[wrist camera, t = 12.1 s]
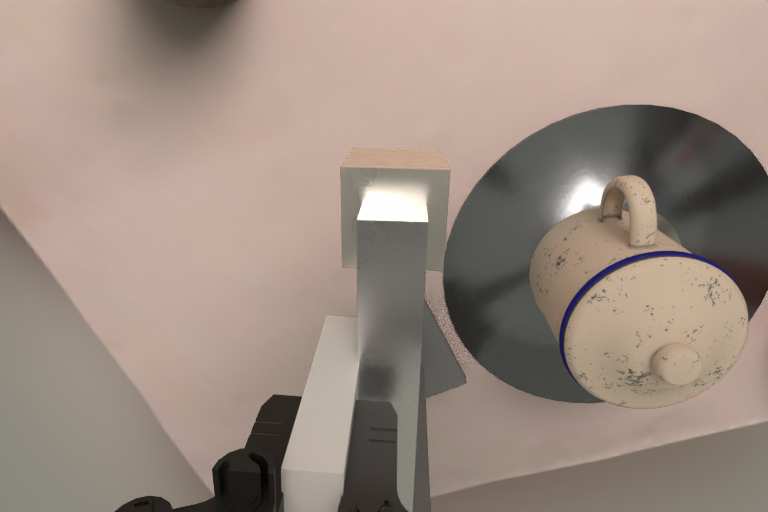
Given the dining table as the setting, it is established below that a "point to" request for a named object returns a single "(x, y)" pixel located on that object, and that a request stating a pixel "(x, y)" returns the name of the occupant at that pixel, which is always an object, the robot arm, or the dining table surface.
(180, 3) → the supplement bottle
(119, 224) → the dining table surface
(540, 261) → the teacup with lid
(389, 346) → the gauge arm
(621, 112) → the turntable platter
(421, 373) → the gauge post
